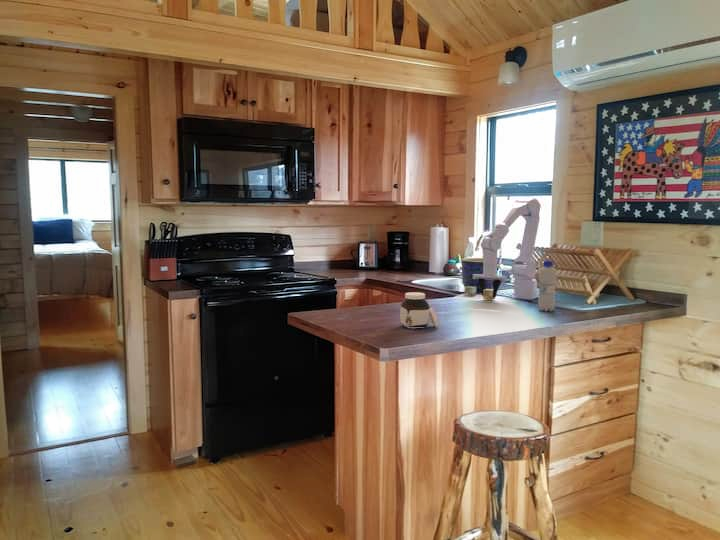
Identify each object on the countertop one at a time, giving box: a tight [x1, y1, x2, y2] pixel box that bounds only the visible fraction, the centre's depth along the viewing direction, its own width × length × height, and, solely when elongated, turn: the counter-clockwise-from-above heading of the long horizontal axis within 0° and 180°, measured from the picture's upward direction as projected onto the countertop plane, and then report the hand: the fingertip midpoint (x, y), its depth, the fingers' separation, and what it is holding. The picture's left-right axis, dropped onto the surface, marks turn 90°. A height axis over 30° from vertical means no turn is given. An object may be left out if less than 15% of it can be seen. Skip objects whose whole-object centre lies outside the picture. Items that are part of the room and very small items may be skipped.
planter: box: [461, 257, 499, 293], centre depth 276 cm, size 17×17×15 cm
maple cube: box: [483, 289, 495, 300], centre depth 249 cm, size 4×4×4 cm
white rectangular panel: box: [450, 292, 507, 304], centre depth 256 cm, size 20×16×1 cm
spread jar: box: [399, 291, 440, 328], centre depth 199 cm, size 12×11×12 cm
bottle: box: [537, 260, 558, 313], centre depth 228 cm, size 7×7×20 cm
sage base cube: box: [464, 286, 477, 297], centre depth 261 cm, size 4×4×4 cm
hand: (489, 296), depth 249 cm, fingers closed on maple cube, 4 cm apart
